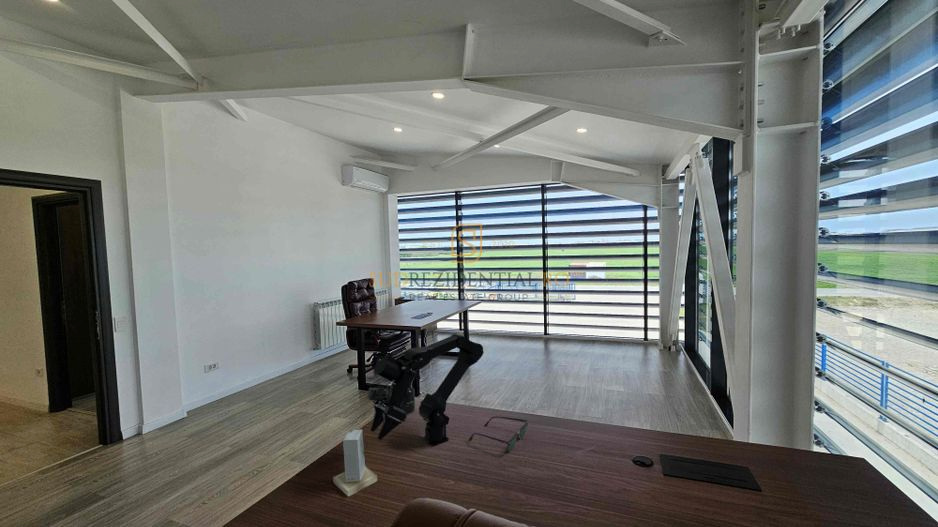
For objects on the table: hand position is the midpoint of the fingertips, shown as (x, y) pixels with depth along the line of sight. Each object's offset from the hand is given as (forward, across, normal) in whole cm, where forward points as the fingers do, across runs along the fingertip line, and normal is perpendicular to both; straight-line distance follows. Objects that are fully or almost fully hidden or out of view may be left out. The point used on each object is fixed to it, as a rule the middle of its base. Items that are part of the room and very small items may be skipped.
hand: (375, 435), depth 110 cm
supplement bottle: (-8, -34, +20) cm, 40 cm away
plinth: (+13, +2, 0) cm, 13 cm away
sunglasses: (-15, +4, +40) cm, 43 cm away
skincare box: (+11, +2, 0) cm, 12 cm away
